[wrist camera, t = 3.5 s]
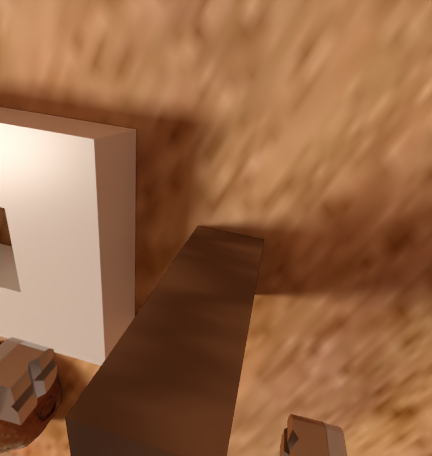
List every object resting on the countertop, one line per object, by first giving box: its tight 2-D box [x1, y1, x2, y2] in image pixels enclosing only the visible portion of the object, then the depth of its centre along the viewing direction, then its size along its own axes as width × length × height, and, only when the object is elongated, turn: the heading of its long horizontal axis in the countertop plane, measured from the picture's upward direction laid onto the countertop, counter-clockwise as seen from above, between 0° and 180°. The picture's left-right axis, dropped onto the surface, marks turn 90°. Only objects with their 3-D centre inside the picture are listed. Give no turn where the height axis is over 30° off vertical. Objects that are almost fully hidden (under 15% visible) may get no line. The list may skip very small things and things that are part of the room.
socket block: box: [0, 107, 136, 366], centre depth 19 cm, size 16×14×4 cm
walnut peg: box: [65, 226, 264, 456], centre depth 13 cm, size 4×4×12 cm
